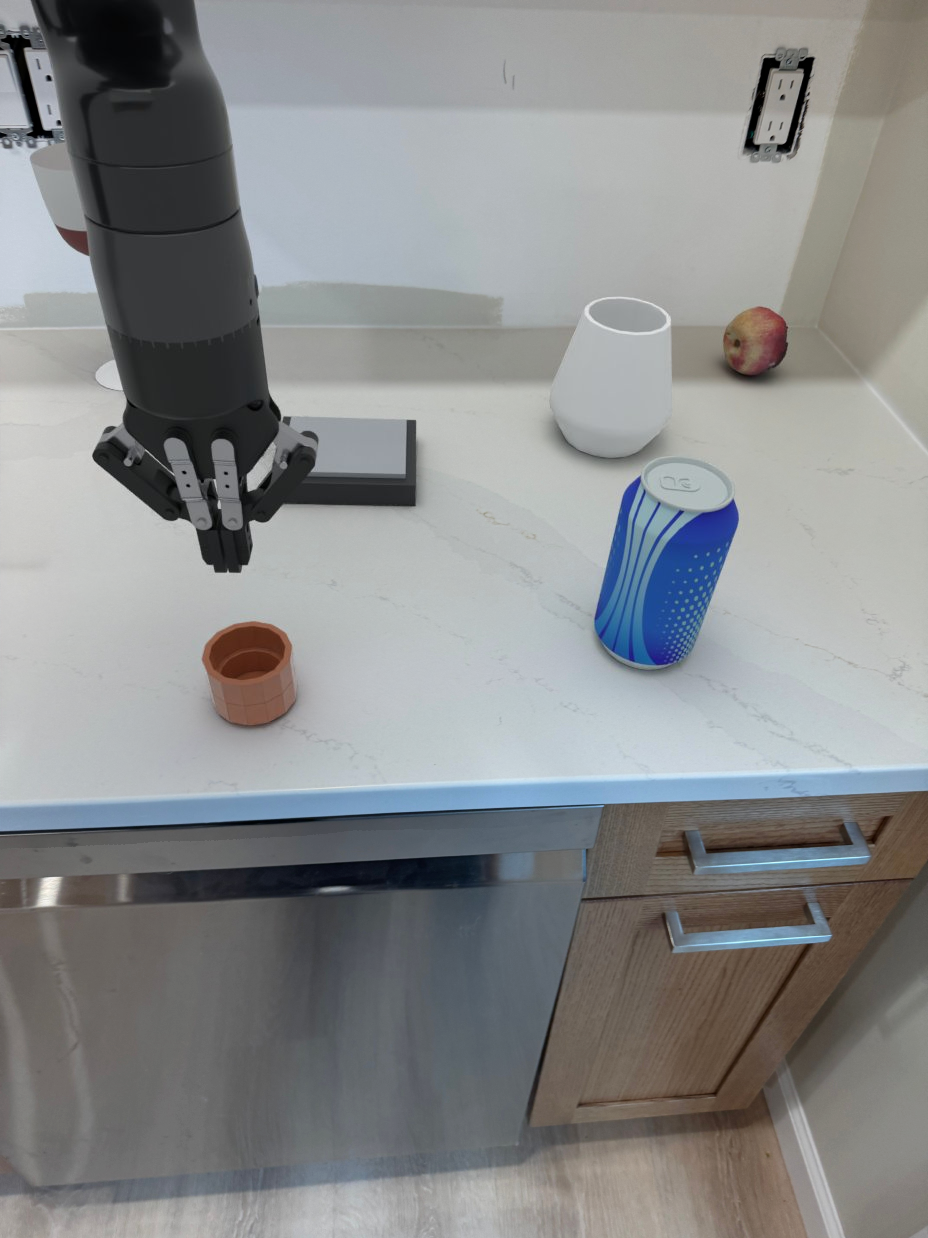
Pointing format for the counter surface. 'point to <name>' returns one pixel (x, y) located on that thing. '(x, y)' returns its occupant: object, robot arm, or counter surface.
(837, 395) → the counter surface
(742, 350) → the fruit
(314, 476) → the scale
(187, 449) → the robot arm
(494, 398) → the counter surface
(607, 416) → the cup
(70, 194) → the wineglass
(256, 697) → the copper hollow cylinder
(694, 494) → the beer can
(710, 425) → the counter surface
